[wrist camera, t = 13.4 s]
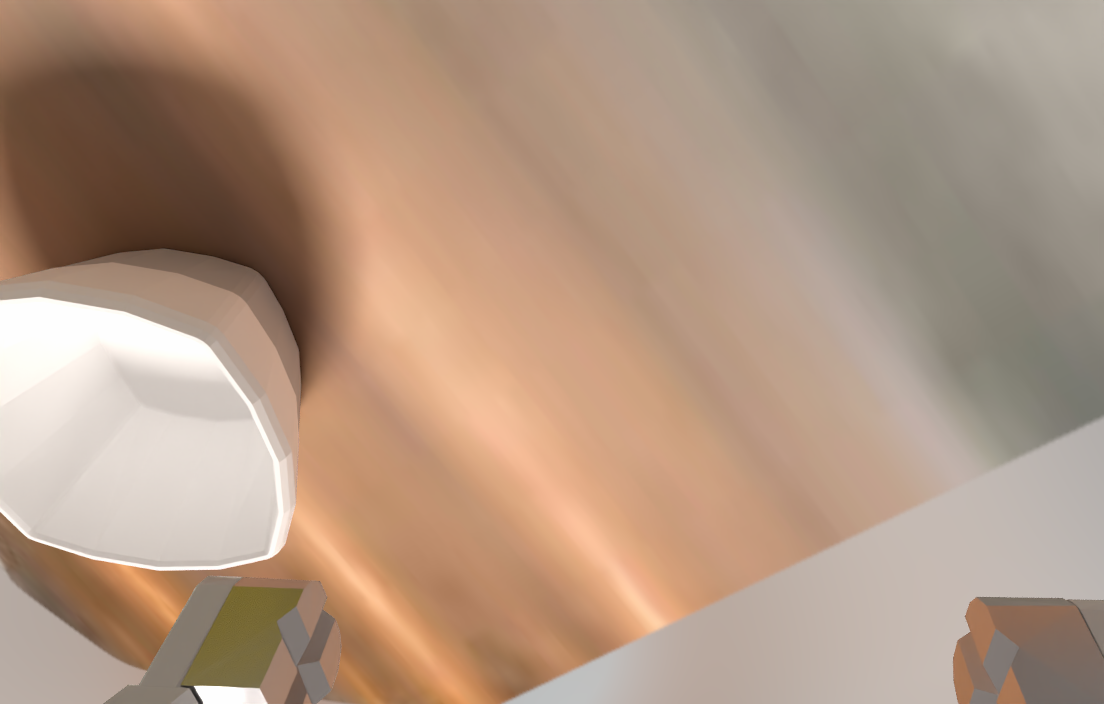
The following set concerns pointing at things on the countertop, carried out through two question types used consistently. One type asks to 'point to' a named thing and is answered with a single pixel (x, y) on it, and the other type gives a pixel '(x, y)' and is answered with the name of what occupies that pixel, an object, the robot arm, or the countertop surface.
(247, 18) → the countertop surface
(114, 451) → the bowl
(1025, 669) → the robot arm
